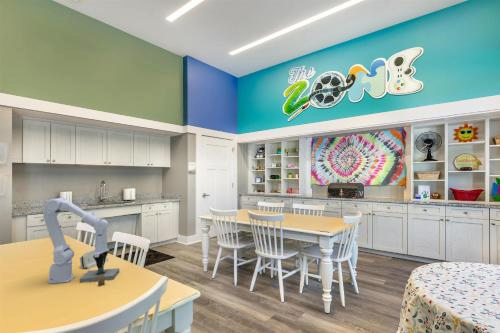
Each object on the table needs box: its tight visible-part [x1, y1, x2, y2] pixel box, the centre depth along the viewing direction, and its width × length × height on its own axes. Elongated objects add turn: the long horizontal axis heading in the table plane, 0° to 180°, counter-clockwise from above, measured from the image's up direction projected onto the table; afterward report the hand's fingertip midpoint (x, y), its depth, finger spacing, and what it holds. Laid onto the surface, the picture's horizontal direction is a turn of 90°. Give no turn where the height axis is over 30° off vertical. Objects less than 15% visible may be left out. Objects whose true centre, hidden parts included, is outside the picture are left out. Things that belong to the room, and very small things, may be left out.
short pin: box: [97, 275, 106, 287], centre depth 131 cm, size 3×3×4 cm
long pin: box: [97, 254, 105, 274], centre depth 142 cm, size 3×3×10 cm
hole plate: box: [79, 267, 120, 284], centre depth 142 cm, size 16×12×2 cm
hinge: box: [79, 249, 109, 270], centre depth 162 cm, size 17×5×10 cm, turn 168°
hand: (100, 266), depth 142 cm, fingers closed on long pin, 3 cm apart
